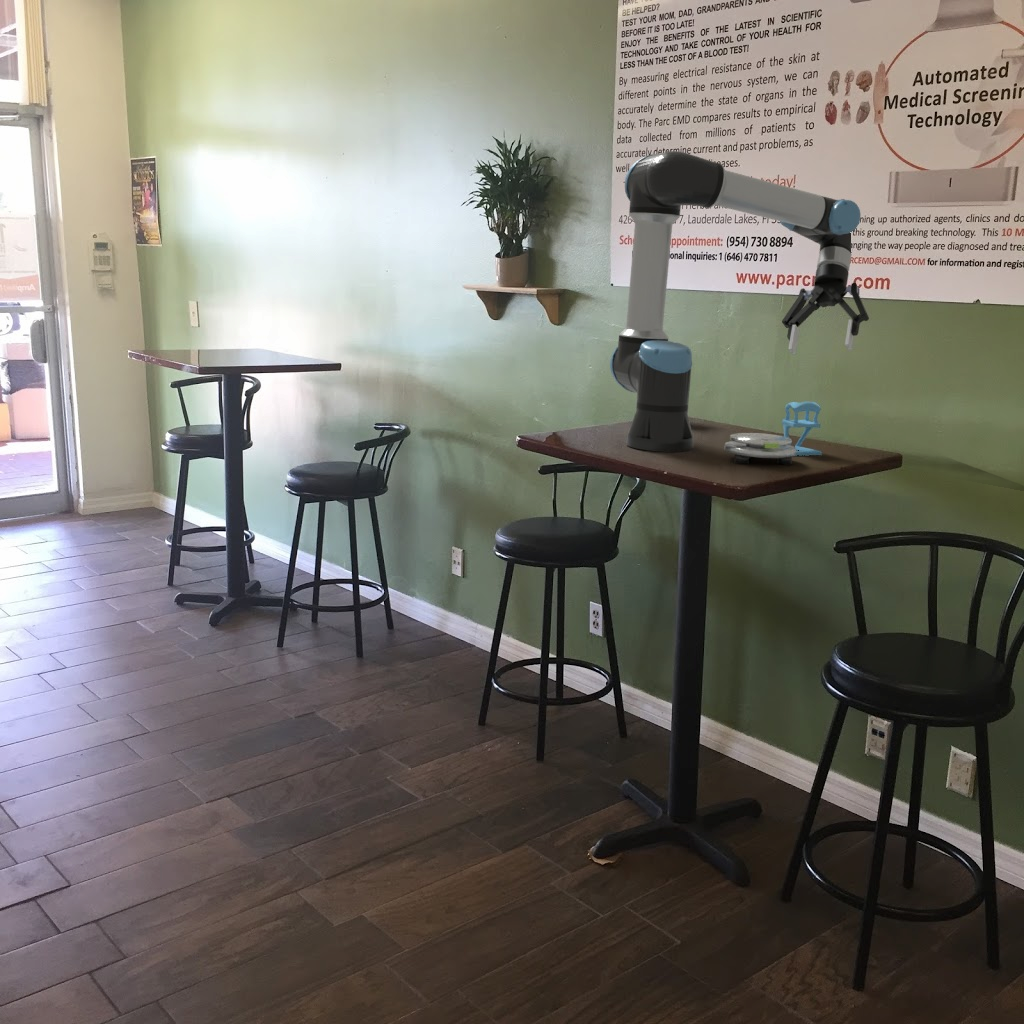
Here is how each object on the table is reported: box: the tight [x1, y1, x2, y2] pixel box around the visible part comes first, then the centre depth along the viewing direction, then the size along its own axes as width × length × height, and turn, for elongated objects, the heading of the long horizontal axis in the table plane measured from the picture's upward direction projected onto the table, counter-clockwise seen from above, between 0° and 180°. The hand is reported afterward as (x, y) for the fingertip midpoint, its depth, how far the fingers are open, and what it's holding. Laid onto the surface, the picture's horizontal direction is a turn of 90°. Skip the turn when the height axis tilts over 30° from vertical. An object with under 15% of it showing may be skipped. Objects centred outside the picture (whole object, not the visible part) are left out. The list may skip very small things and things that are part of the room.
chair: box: [781, 400, 823, 457], centre depth 241 cm, size 8×8×12 cm
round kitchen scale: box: [724, 432, 797, 466], centre depth 229 cm, size 15×15×5 cm
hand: (819, 349), depth 249 cm, fingers open, 13 cm apart
